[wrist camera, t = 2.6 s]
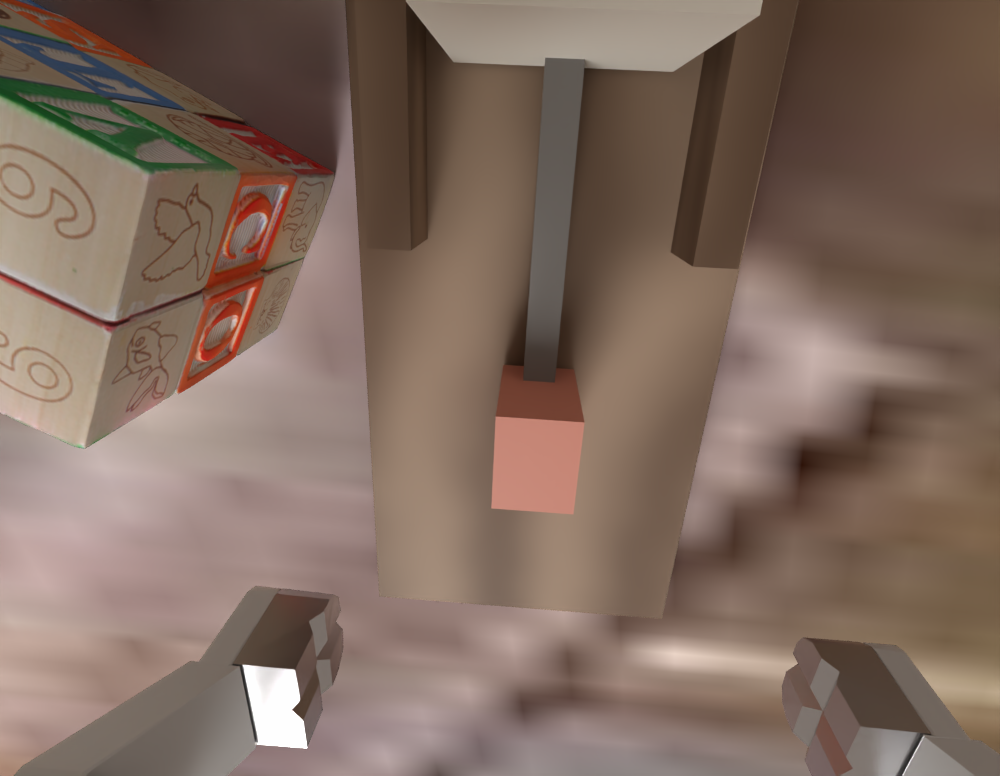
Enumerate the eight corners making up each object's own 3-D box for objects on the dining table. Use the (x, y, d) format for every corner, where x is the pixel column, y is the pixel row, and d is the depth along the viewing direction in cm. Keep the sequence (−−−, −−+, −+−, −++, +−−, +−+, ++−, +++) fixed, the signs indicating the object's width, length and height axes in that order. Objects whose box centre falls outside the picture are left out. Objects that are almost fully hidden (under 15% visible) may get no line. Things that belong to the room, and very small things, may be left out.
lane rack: (385, 579, 24) (349, 680, 19) (337, -366, 12) (222, -676, 8) (656, 600, 23) (687, 708, 19) (860, -357, 12) (1064, -681, 7)
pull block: (449, 438, 19) (416, 549, 14) (457, -301, 12) (391, -705, 6) (615, 450, 19) (649, 567, 14) (728, -295, 12) (904, -708, 6)
